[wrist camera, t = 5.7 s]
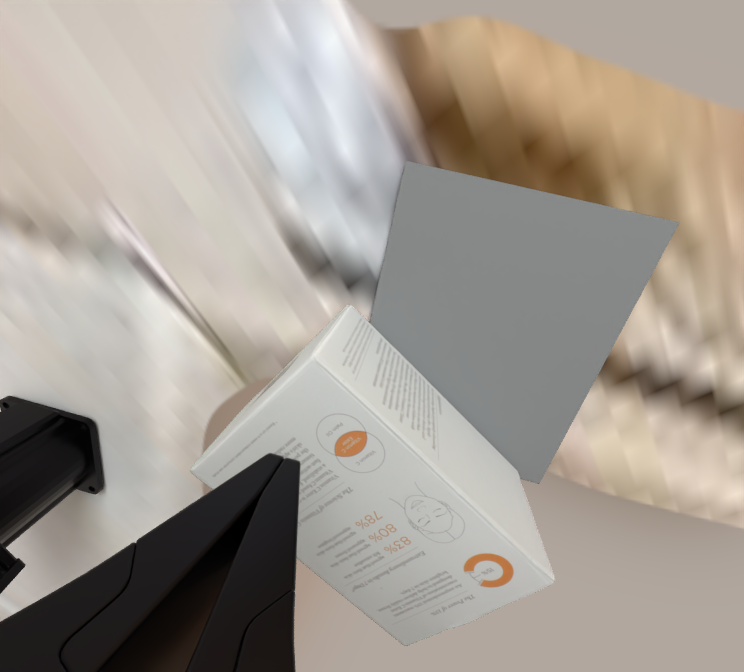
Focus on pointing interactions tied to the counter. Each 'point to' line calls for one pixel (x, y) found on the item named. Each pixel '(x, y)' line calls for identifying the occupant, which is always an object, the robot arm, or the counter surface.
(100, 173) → the counter surface
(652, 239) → the mat
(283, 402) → the small box
